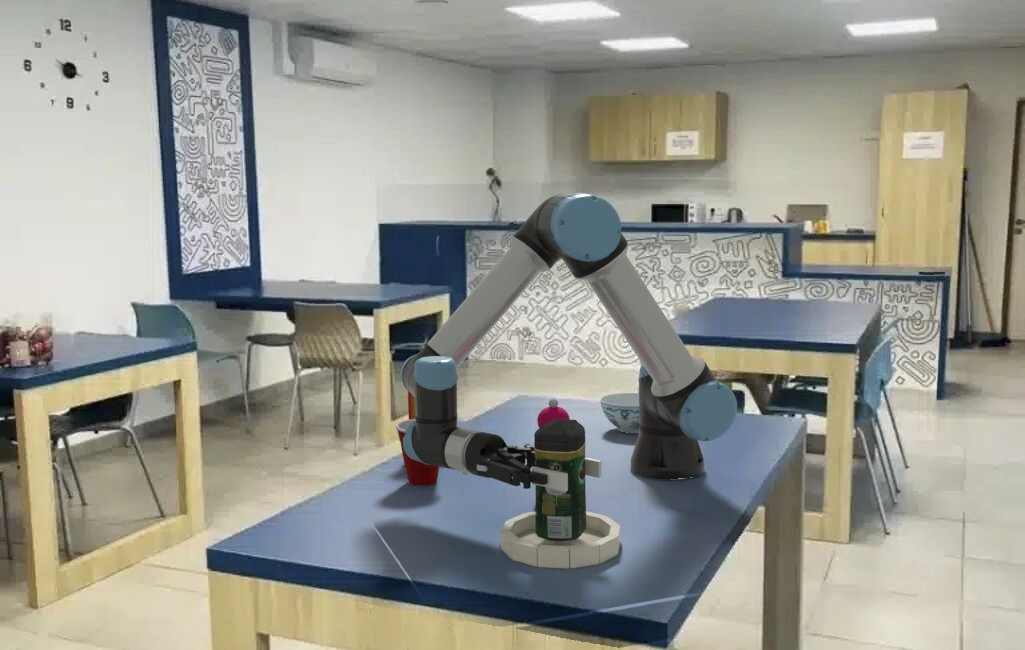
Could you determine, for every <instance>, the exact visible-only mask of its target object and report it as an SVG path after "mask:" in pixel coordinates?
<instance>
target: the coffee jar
mask: <svg viewBox="0 0 1025 650" xmlns="http://www.w3.org/2000/svg"><path fill="white" fill-rule="evenodd" d="M533 437H534V444H533V445H534V452H535V467H540V468H544V469H549V470H554V471H558V472H563V473H568V490H567V491H561V490H556V489H552V488H547V487H543V486H539V485H535V511H536V514H535V532H536V535H537V536H538V537H540V538H543V539H546V540H549V541H554V542H562V541H568V540H576V539H578V538H579V537H580V536H581V535H582V533H583V532H584V530H585V528H586V511H587V499H586V497H587V496H586V492H587V491H586V475H585V458H586V429H585V427H584V426H583V425H582V424H581V423H580V422H578V420H577V419H570V420H569V419H553V420H552V421H550V422H548V423H546V424H544V425H543V426H541V427H540V428H539V427H538V429H537V430H536V431H535V432H534V436H533Z"/></svg>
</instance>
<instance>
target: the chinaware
mask: <svg viewBox="0 0 1025 650" xmlns="http://www.w3.org/2000/svg"><path fill="white" fill-rule="evenodd" d="M599 401H600V402H599V403H600V405H601V406H600V407H601V408H602V409H601V410H602V412H603V414H604V416H605V417H606V419H607V420H608V421H609V422H610V423H611V424H612V425H613V426H615V427H616V428H617V429H618V430H619V431H621V432H620V433H622V432H627V433H626V434H629V433H635V434H639V392H636V393H635V392H627V393H626V392H621V393H613V394H607V395H603V396H601V397H600V399H599ZM618 430H617V431H618ZM619 431H618V432H619Z"/></svg>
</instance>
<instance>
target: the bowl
mask: <svg viewBox="0 0 1025 650" xmlns="http://www.w3.org/2000/svg"><path fill="white" fill-rule="evenodd" d="M535 514H536V510H535V511H529V512H524V513H522V514H520V515H515V516H514V517H512V518H509V519H507V520H506V521H505V522H504V524H503V525H502V528H501V530H500V544H501V549H502V550H503V551H504V552H505V553H506V554H507V555H508V556H509V557H510V558H511V559H512V560H515V561H519V562H522V563H525V564H529V565H532V566H536V567H537V566H538V567H548V568H568V569H567V570H570V569H569V567H570V568H577V567H583V566H589V565H596V564H599V563H600V564H601V563H603V562H604V561H606V560H608V559H610V558H612V557H614V556H616V555H618V553H619V547H620V542H621V525H620V524H619V523H617V522H616V521H615V520H613V519H612V518H610V517H608V516H606V515H604V514H599V513H595V512H592V511H591V512H590V511H587V510H586V528H585V530H584V532H583V533H582V535H581V536H580V537H579V538H578V539H576V540H568V541H562V542H554V541H549V540H546V539H543V538H540V537H538V536H537V535H536V532H535ZM618 556H619V555H618ZM512 560H511V561H512ZM603 564H604V563H603ZM601 565H602V564H601ZM536 567H535V568H536Z"/></svg>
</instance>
